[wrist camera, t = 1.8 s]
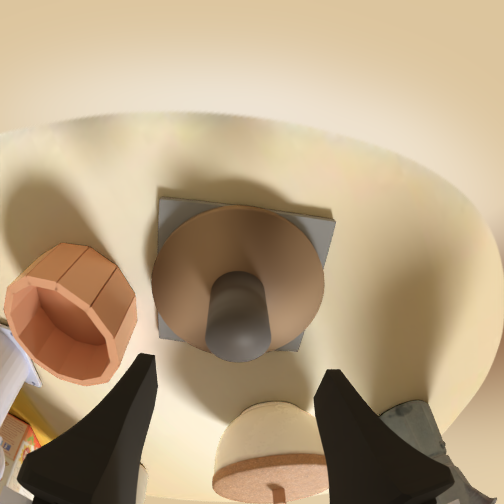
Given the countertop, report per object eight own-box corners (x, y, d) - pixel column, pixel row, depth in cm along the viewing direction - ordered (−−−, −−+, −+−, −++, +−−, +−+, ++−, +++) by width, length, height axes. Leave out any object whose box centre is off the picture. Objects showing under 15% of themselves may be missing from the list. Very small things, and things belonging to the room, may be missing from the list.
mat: (160, 333, 20) (159, 338, 20) (161, 196, 16) (159, 199, 16) (296, 347, 21) (297, 351, 21) (333, 219, 17) (335, 222, 17)
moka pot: (457, 381, 26) (524, 510, 8) (387, 451, 32) (421, 562, 14) (404, 380, 25) (475, 551, 7) (332, 455, 31) (359, 586, 13)
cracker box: (0, 406, 27) (-43, 510, 8) (31, 424, 28) (-7, 535, 9) (20, 443, 32) (-8, 528, 14) (48, 457, 34) (22, 546, 15)
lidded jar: (195, 400, 24) (187, 493, 16) (315, 371, 23) (340, 471, 14) (238, 449, 28) (240, 521, 20) (332, 428, 27) (350, 501, 19)
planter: (49, 331, 20) (26, 367, 16) (28, 237, 17) (-9, 267, 13) (140, 352, 21) (126, 396, 17) (133, 252, 18) (107, 291, 14)
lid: (156, 339, 20) (141, 390, 16) (156, 195, 16) (127, 225, 11) (299, 353, 21) (311, 404, 17) (339, 219, 17) (372, 255, 12)
